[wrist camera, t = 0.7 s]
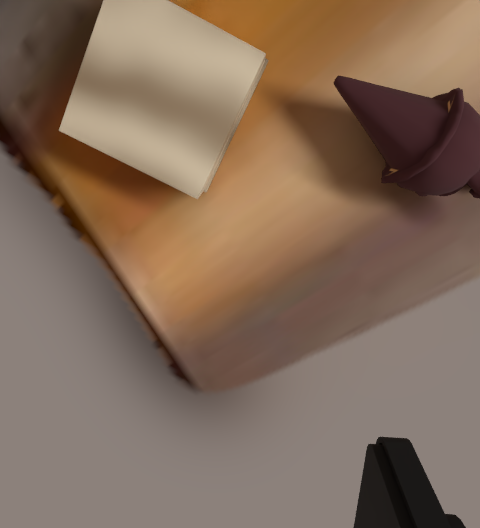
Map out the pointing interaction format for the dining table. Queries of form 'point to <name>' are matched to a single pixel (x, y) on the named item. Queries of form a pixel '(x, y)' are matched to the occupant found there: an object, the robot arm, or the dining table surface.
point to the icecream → (419, 136)
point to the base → (162, 91)
